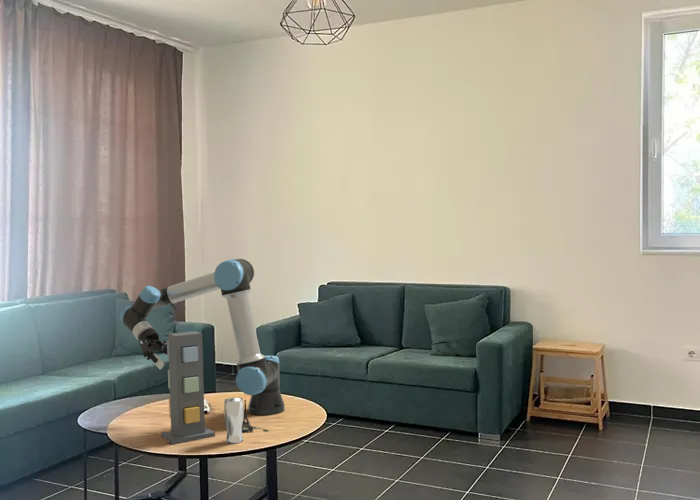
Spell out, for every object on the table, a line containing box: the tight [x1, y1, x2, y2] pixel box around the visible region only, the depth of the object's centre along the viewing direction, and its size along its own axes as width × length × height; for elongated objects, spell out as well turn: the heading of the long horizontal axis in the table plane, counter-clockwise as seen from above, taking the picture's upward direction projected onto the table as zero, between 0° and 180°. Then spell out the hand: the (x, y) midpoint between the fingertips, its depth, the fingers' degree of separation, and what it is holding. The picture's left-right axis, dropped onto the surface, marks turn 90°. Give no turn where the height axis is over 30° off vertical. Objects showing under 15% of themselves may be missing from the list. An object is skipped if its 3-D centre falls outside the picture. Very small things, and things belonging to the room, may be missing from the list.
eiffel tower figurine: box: [225, 399, 270, 434], centre depth 256 cm, size 15×10×13 cm
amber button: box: [168, 398, 200, 424], centre depth 252 cm, size 16×7×7 cm, turn 32°
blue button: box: [166, 340, 198, 362], centre depth 252 cm, size 16×7×7 cm, turn 32°
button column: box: [161, 330, 216, 445], centre depth 250 cm, size 12×16×38 cm
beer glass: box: [223, 396, 245, 445], centre depth 243 cm, size 7×7×15 cm
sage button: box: [167, 369, 199, 393], centre depth 252 cm, size 16×7×7 cm, turn 32°
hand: (174, 367), depth 266 cm, fingers open, 13 cm apart
